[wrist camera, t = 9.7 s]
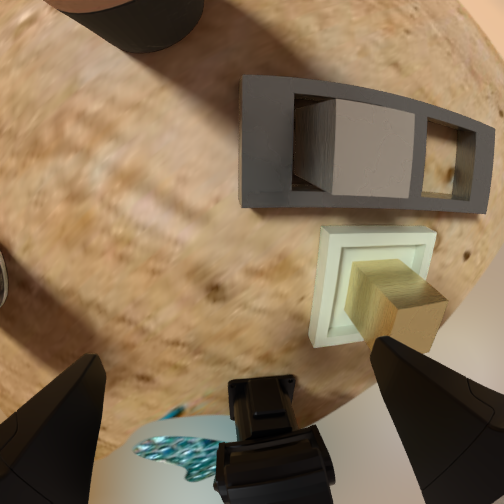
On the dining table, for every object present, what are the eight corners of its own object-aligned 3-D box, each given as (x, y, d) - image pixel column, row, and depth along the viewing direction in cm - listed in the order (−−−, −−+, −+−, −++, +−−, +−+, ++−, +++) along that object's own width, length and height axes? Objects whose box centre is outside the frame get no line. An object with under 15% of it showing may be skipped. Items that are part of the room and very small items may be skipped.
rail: (469, 206, 22) (485, 214, 20) (238, 199, 20) (241, 208, 17) (477, 126, 19) (495, 128, 17) (239, 81, 17) (242, 74, 14)
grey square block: (352, 176, 20) (408, 198, 14) (293, 173, 20) (331, 195, 13) (355, 115, 18) (414, 114, 12) (295, 109, 18) (336, 98, 11)
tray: (400, 321, 26) (409, 331, 24) (307, 335, 25) (313, 348, 23) (424, 225, 22) (436, 232, 21) (321, 225, 21) (329, 233, 19)
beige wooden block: (398, 258, 23) (448, 300, 16) (387, 304, 24) (428, 351, 18) (352, 261, 22) (397, 310, 16) (343, 310, 24) (380, 364, 17)
